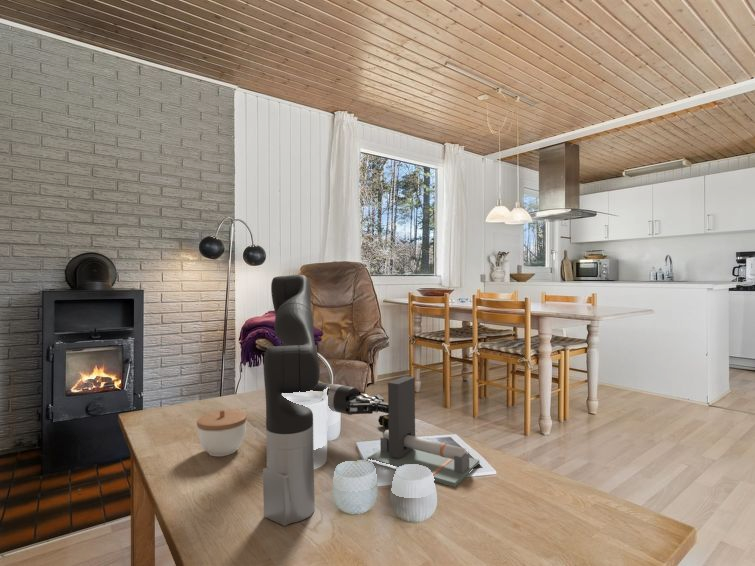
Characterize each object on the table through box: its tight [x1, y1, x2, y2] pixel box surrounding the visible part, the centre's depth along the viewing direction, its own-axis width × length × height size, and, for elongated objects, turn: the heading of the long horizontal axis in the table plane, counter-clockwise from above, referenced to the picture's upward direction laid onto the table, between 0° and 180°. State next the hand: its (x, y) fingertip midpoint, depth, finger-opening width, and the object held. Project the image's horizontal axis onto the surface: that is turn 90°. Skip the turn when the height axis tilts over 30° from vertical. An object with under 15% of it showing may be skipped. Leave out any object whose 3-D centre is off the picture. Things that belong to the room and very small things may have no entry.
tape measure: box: [377, 414, 389, 430], centre depth 134 cm, size 7×7×4 cm
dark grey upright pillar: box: [387, 376, 416, 458], centre depth 112 cm, size 8×3×19 cm, turn 145°
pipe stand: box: [367, 429, 480, 488], centre depth 109 cm, size 14×24×6 cm, turn 55°
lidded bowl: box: [196, 409, 248, 458], centre depth 118 cm, size 13×13×11 cm
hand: (391, 408), depth 114 cm, fingers closed
